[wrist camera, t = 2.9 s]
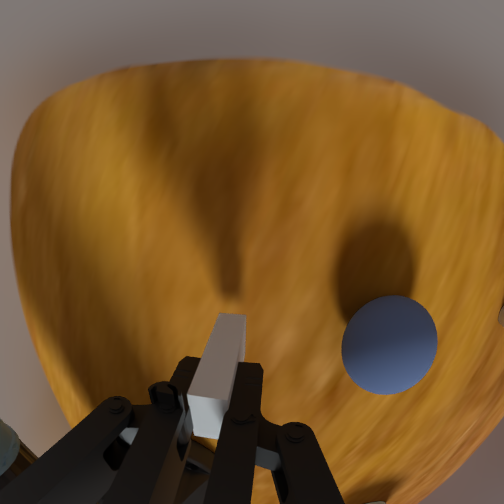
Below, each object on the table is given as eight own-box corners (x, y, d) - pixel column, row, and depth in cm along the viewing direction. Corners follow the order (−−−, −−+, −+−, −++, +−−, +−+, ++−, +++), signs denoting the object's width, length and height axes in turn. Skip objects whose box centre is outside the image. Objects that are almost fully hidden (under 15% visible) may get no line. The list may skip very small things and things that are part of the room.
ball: (326, 357, 18) (341, 419, 12) (341, 279, 16) (371, 328, 10) (400, 354, 17) (430, 406, 12) (421, 281, 16) (469, 322, 10)
